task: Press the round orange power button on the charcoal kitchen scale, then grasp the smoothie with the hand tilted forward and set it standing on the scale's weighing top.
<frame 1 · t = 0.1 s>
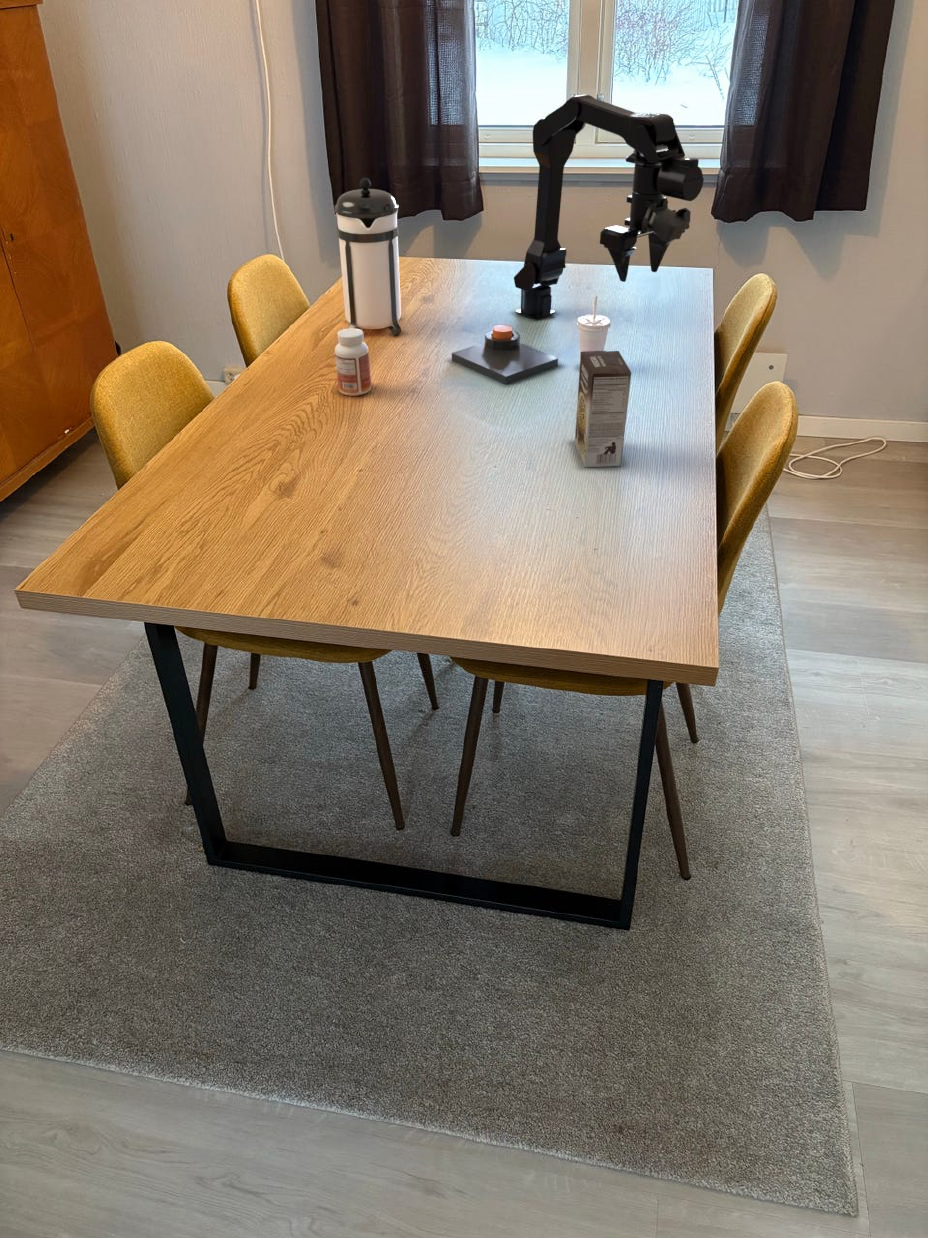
hand: (638, 276, 184), 15 cm above the table, tool pointing down, fingers open, 9 cm apart
coffee box: (597, 455, 156), on the table
coffee press: (372, 326, 205), on the table
power button: (502, 332, 190), point 4 cm above the table, slide at 0.1 cm
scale: (504, 363, 187), on the table
smoothie: (590, 369, 185), on the table
pill bottle: (354, 391, 177), on the table
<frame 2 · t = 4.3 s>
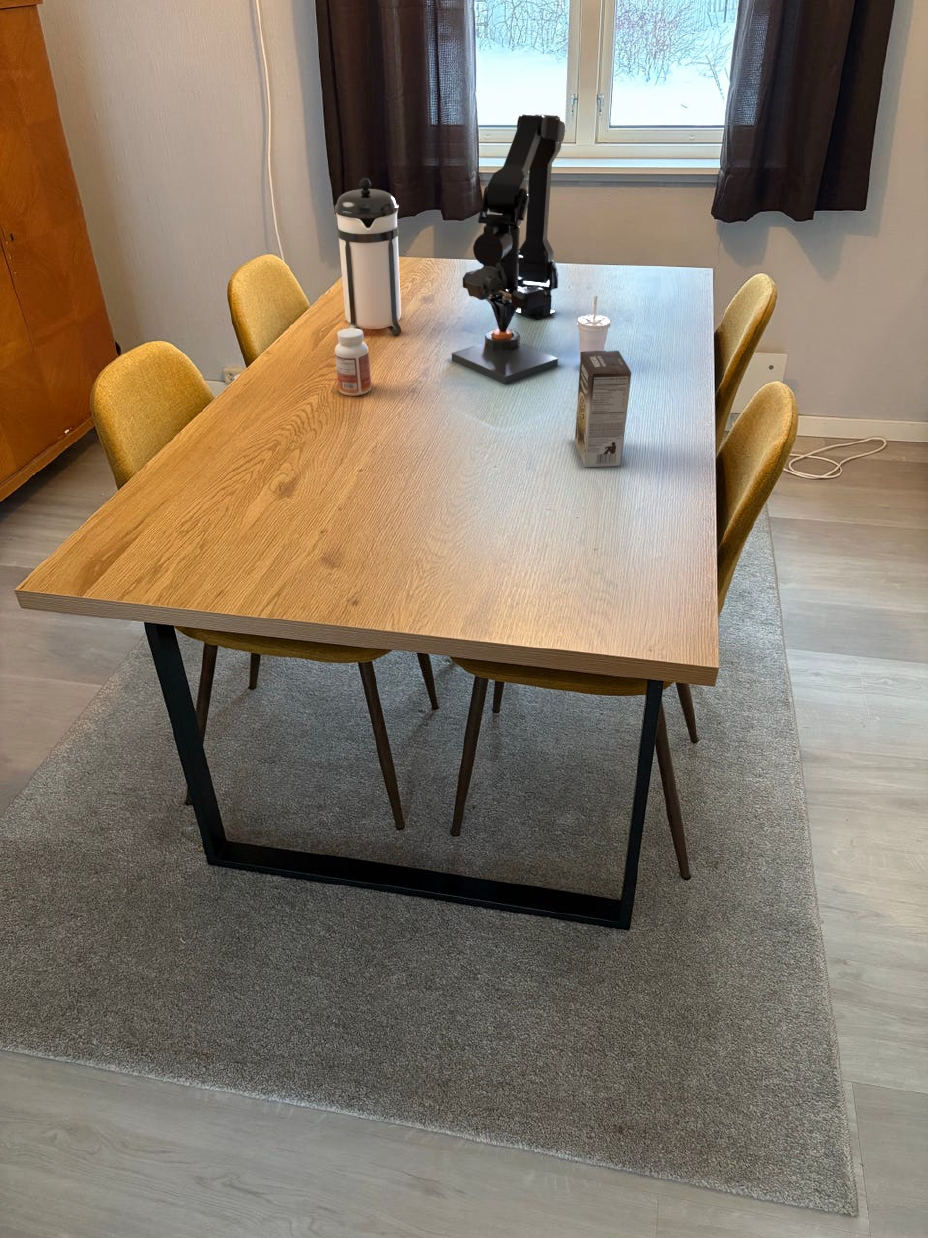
hand: (502, 331, 189), 4 cm above the table, tool pointing down, fingers closed, pressing on power button
power button: (502, 335, 190), point 3 cm above the table, slide at -0.5 cm, touching gripper
everything else where it was.
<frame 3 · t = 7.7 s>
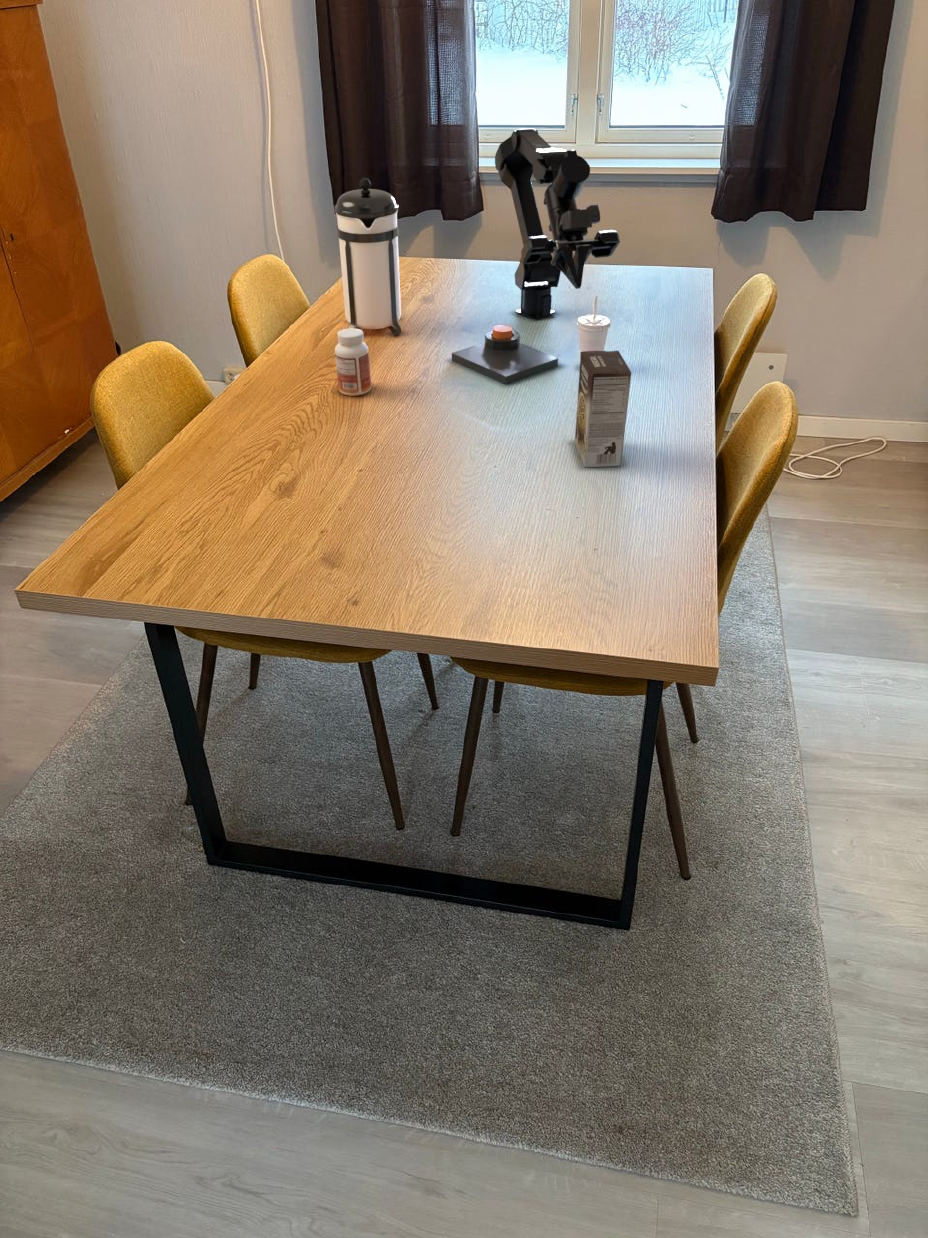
hand: (578, 287, 183), 13 cm above the table, tool tilted 45°, fingers closed
power button: (502, 332, 190), point 4 cm above the table, slide at 0.1 cm
everything else where it was.
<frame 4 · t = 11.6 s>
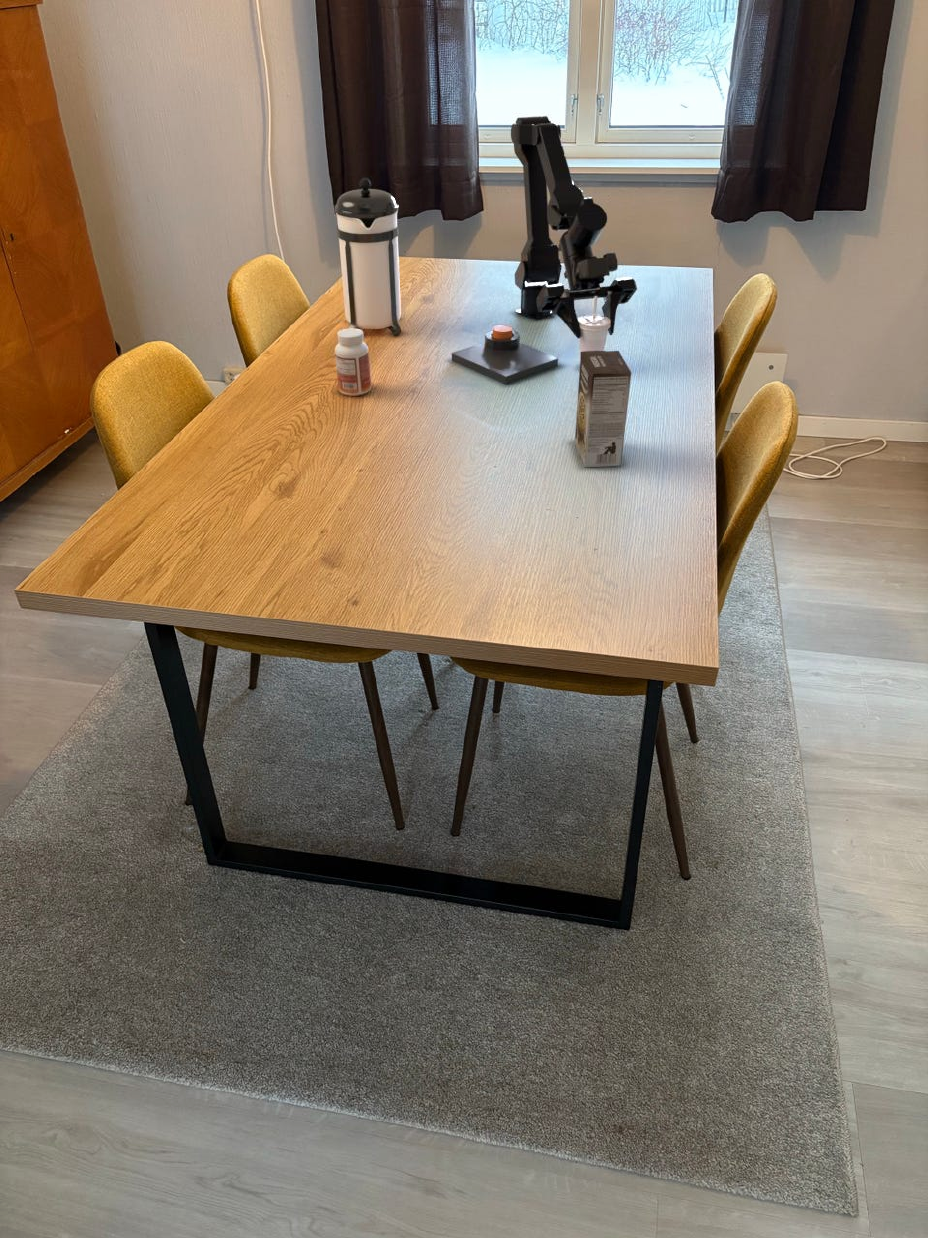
hand: (595, 335, 179), 7 cm above the table, tool tilted 45°, fingers closed on smoothie, 6 cm apart
smoothie: (590, 369, 185), on the table, touching gripper
everything else where it was.
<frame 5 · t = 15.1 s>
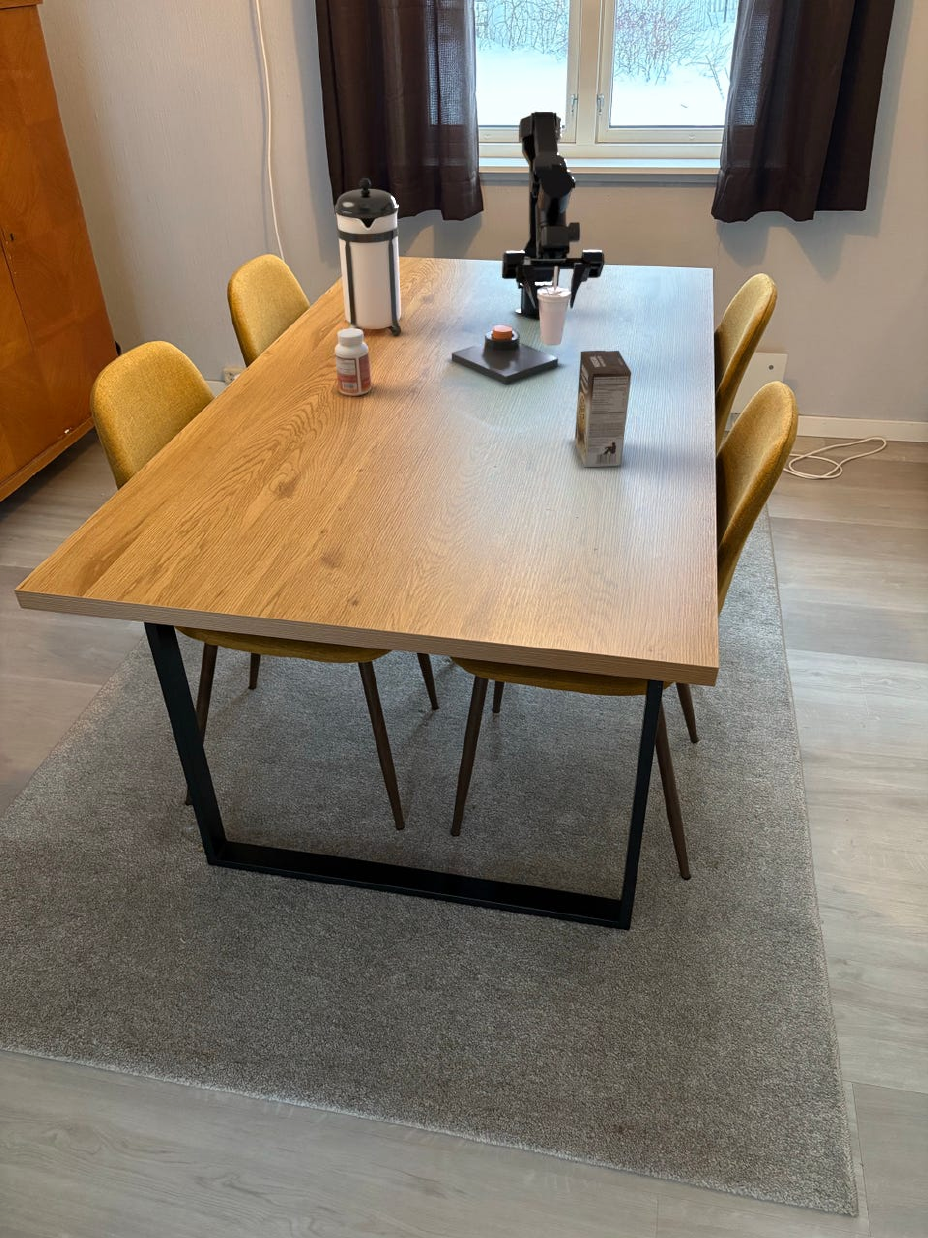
hand: (553, 307, 174), 13 cm above the table, tool tilted 45°, fingers closed on smoothie, 6 cm apart
smoothie: (551, 342, 180), point 6 cm above the table, touching gripper
everything else where it was.
when the fingers open (9 cm above the table, at t = 18.6 s): smoothie stays where it is, resting on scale.
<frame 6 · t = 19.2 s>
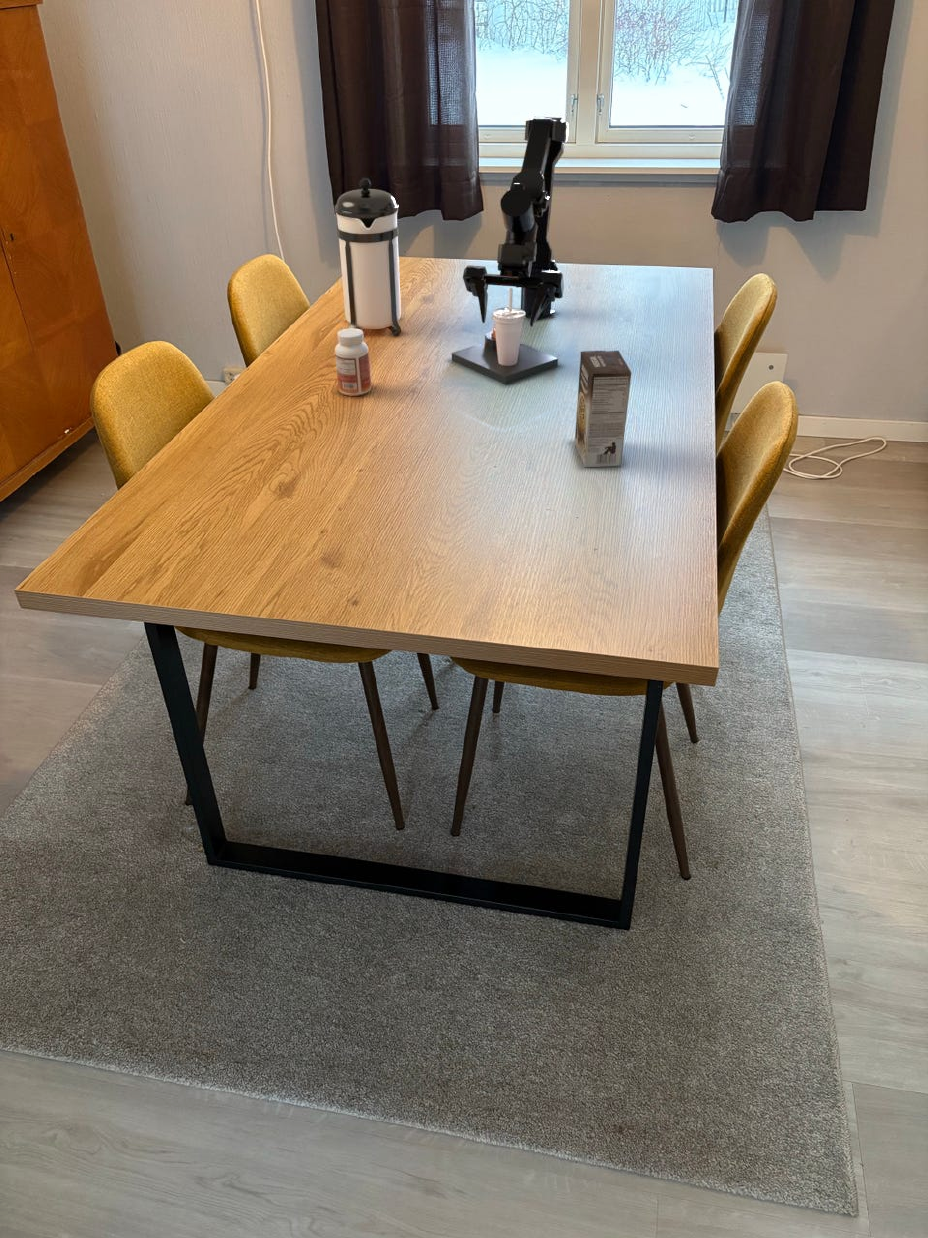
hand: (507, 323, 177), 10 cm above the table, tool tilted 45°, fingers open, 9 cm apart
smoothie: (507, 362, 183), point 2 cm above the table, touching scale
everything else where it was.
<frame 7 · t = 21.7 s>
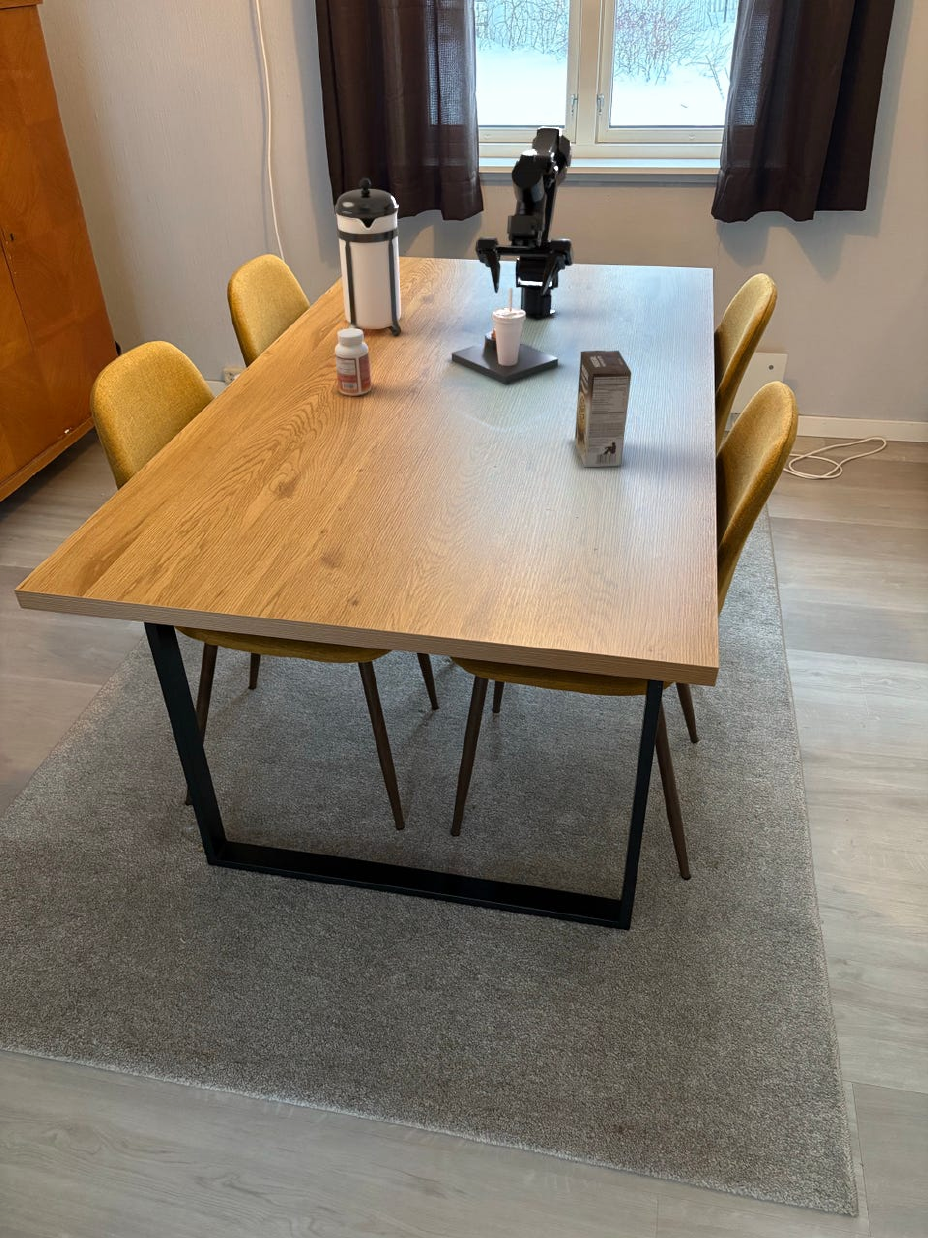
hand: (518, 292, 183), 13 cm above the table, tool tilted 45°, fingers open, 9 cm apart
nothing on the table moved.
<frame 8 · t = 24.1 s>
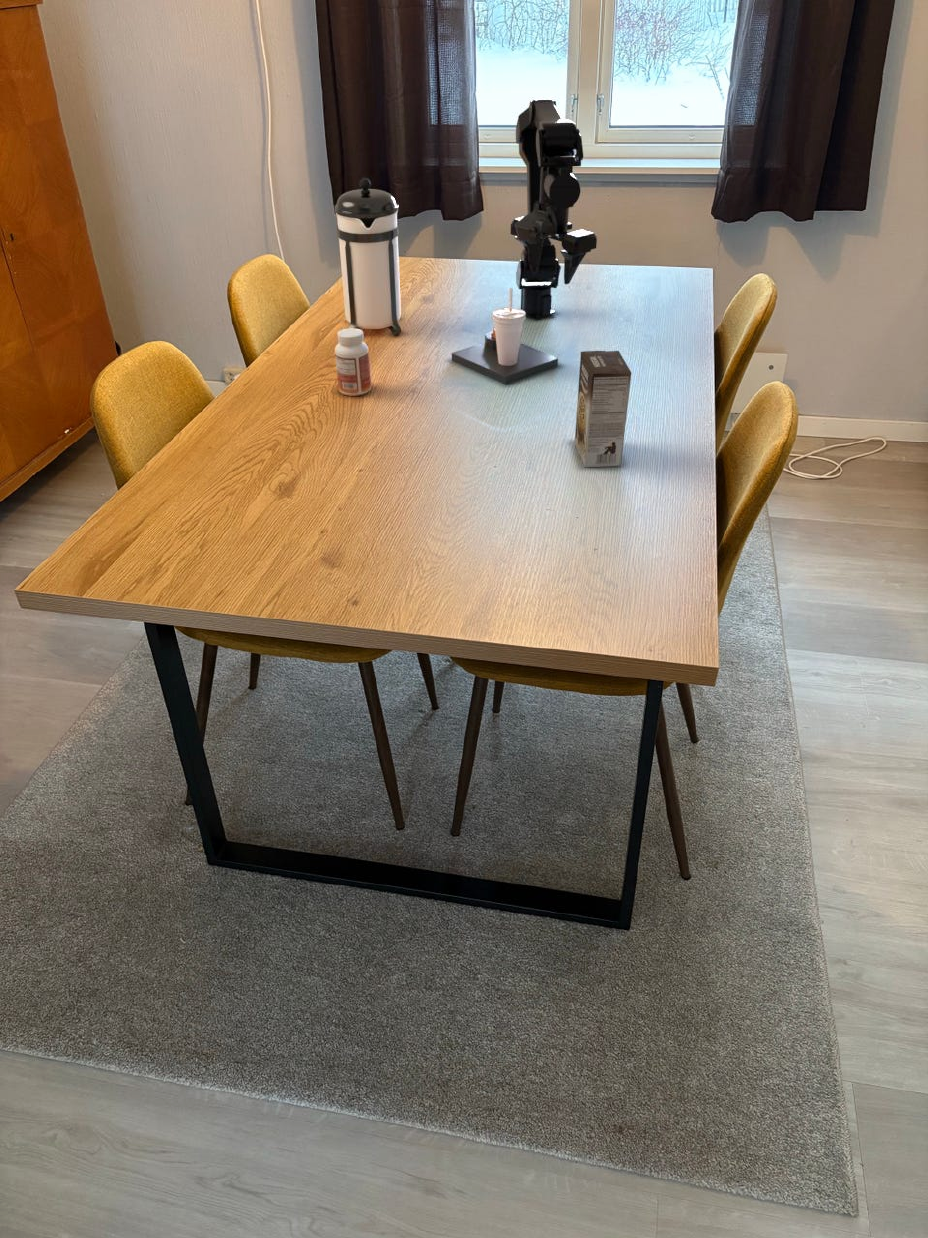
hand: (550, 278, 189), 13 cm above the table, tool pointing down, fingers open, 9 cm apart
nothing on the table moved.
at the end: power button pushed in 1.1 cm at the most during the clip, back to where it started at the end; smoothie inside the target area on the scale (3.4 cm from its centre), point 1.5 cm above the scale's base; smoothie tilted 0° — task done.
